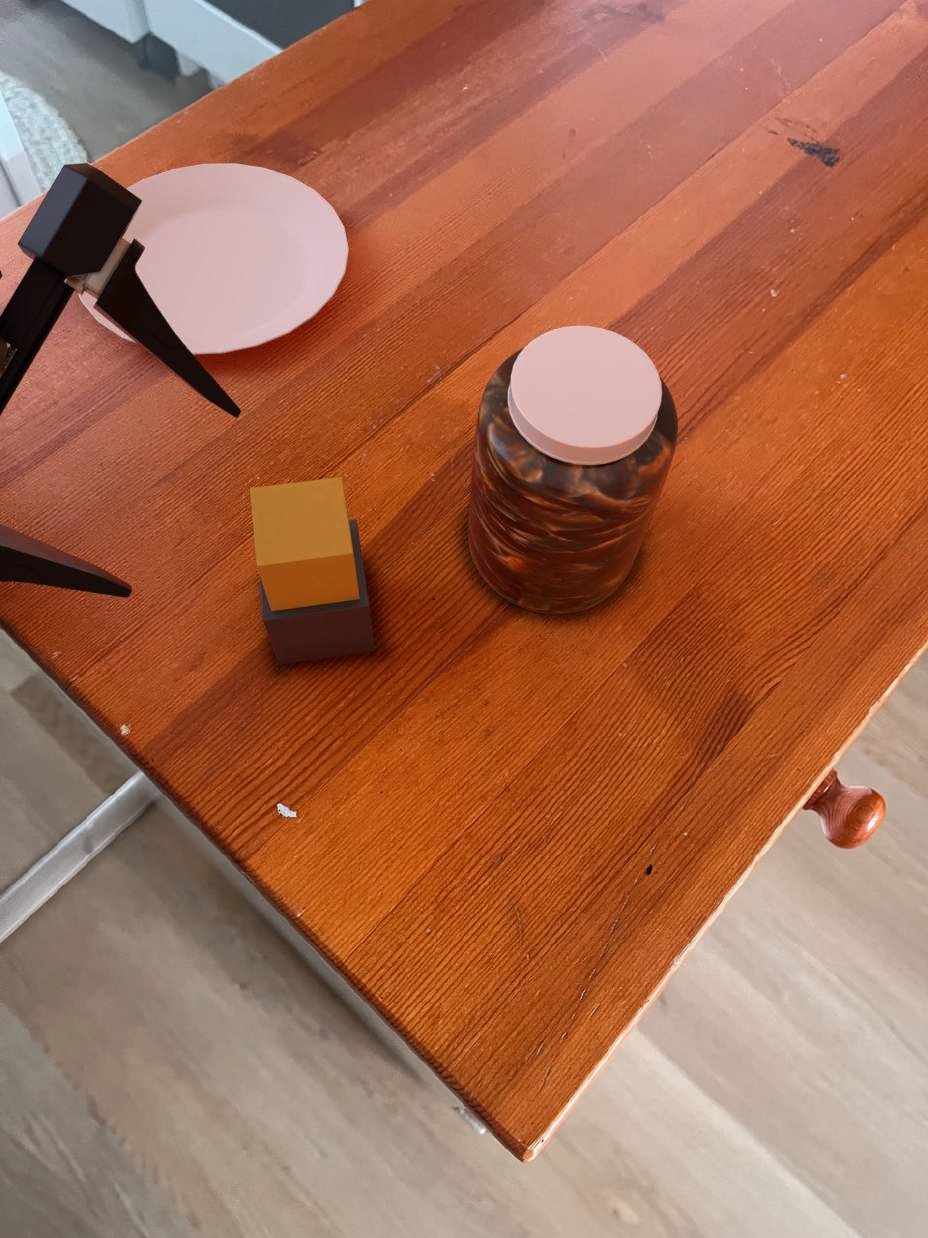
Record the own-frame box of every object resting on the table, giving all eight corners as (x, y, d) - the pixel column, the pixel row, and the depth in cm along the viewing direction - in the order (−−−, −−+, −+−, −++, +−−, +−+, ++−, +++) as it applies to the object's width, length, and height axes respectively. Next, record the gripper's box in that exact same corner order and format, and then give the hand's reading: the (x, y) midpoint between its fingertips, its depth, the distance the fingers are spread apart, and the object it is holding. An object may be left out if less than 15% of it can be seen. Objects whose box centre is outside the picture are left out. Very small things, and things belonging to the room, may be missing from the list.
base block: (278, 665, 56) (263, 620, 50) (270, 582, 58) (255, 531, 53) (375, 651, 56) (369, 605, 51) (362, 570, 59) (356, 518, 54)
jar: (673, 563, 60) (742, 415, 47) (529, 644, 57) (560, 510, 44) (571, 442, 65) (609, 275, 51) (432, 511, 61) (434, 352, 48)
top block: (271, 611, 51) (256, 566, 46) (264, 537, 53) (249, 487, 49) (359, 599, 51) (353, 553, 47) (349, 526, 54) (342, 476, 49)
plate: (170, 420, 64) (162, 398, 62) (34, 254, 71) (23, 230, 69) (403, 294, 71) (402, 271, 69) (257, 154, 78) (252, 130, 76)
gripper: (-454, 548, 26) (74, 758, 33) (-122, -28, 25) (343, 318, 32) (-306, 489, 35) (75, 660, 43) (-66, 75, 35) (281, 322, 42)
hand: (184, 503), depth 40 cm, fingers open, 9 cm apart
